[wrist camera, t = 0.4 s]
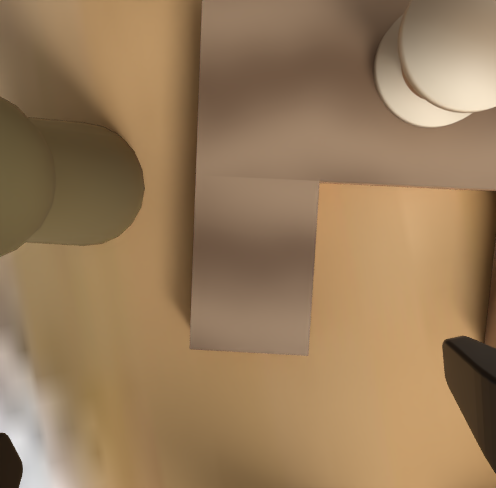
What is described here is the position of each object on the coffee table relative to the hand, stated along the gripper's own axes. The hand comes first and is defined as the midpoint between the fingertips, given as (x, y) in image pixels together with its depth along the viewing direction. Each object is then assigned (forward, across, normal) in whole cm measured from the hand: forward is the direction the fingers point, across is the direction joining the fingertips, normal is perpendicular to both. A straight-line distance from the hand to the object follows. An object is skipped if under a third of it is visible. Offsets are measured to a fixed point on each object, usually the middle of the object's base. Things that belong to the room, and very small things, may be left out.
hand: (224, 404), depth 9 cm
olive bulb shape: (+15, +7, -3) cm, 17 cm away
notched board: (+14, -9, +1) cm, 16 cm away
